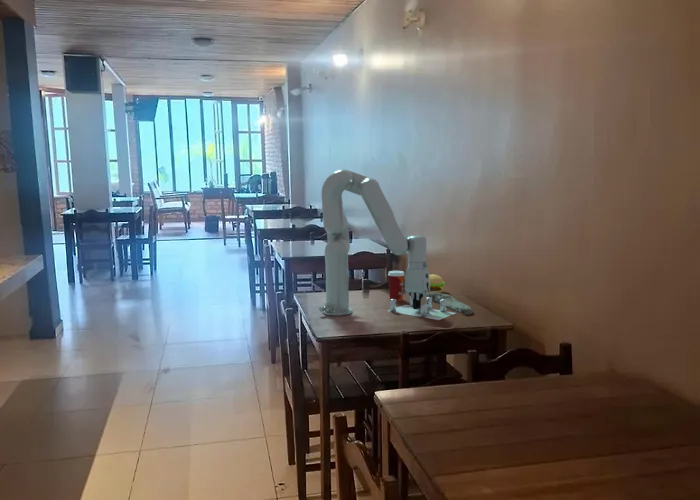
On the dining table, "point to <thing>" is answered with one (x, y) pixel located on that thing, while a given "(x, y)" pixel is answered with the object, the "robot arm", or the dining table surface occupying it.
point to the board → (410, 311)
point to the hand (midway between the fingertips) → (416, 308)
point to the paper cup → (396, 285)
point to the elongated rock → (451, 302)
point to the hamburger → (436, 283)
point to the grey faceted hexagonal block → (420, 310)
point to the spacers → (423, 306)
